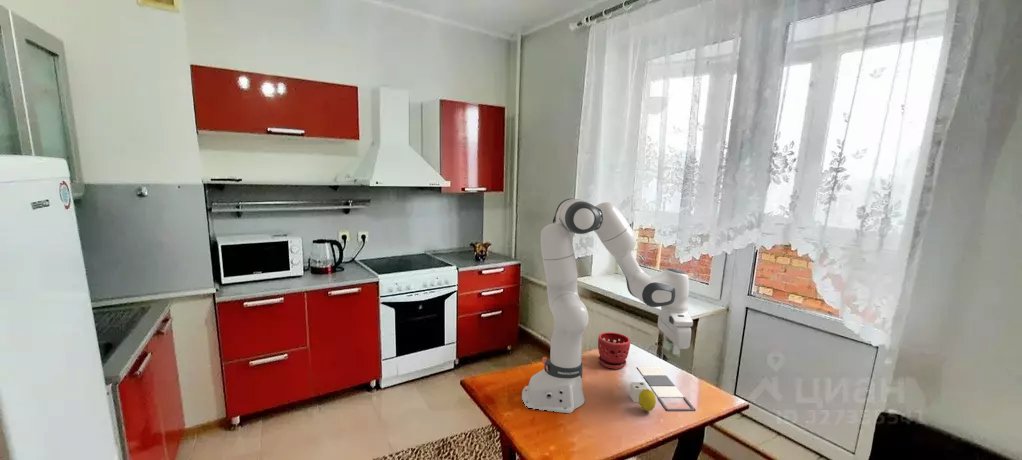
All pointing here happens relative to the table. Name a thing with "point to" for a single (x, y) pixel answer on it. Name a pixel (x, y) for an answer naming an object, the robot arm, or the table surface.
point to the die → (636, 390)
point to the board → (662, 386)
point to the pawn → (669, 349)
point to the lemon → (647, 400)
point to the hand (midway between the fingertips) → (671, 349)
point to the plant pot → (613, 350)
